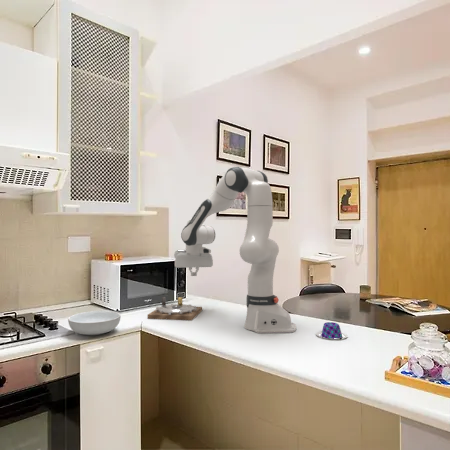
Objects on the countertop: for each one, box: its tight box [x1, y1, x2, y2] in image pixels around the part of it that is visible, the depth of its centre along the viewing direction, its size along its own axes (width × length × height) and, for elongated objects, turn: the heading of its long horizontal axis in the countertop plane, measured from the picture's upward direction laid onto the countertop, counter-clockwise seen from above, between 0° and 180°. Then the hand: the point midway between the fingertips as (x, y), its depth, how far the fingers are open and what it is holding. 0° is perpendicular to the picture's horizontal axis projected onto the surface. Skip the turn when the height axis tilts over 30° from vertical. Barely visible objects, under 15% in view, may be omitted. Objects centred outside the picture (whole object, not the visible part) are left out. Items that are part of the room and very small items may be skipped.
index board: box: [147, 296, 203, 321], centre depth 187 cm, size 22×22×7 cm
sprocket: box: [155, 296, 197, 315], centre depth 187 cm, size 21×21×5 cm
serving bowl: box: [67, 310, 121, 336], centre depth 154 cm, size 21×21×7 cm
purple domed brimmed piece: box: [315, 321, 348, 340], centre depth 147 cm, size 12×12×5 cm
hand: (193, 275), depth 196 cm, fingers closed
